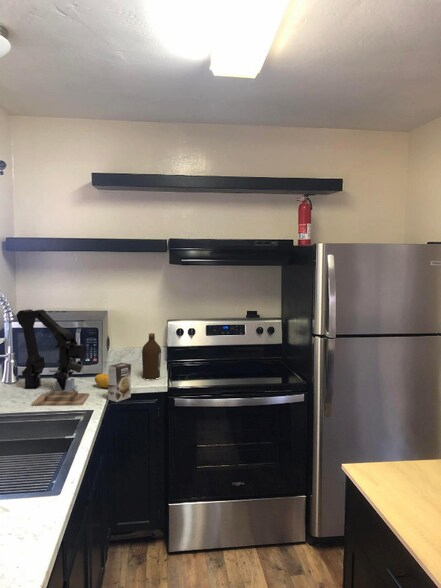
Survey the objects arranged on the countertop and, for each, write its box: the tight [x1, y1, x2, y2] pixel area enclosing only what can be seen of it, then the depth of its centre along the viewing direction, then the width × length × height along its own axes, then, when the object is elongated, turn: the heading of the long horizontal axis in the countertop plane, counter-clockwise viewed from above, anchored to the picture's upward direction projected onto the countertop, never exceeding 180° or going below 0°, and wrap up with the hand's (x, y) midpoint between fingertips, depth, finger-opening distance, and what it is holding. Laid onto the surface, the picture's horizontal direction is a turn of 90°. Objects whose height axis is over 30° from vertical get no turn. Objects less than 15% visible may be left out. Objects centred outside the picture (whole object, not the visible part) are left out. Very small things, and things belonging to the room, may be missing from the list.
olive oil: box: [141, 332, 162, 380], centre depth 242 cm, size 11×11×25 cm
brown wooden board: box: [31, 390, 90, 407], centre depth 201 cm, size 22×15×3 cm
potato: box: [94, 373, 108, 389], centre depth 223 cm, size 7×14×7 cm, turn 68°
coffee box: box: [107, 362, 132, 403], centre depth 205 cm, size 9×6×16 cm
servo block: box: [52, 377, 78, 391], centre depth 215 cm, size 11×4×7 cm, turn 96°
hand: (64, 388), depth 215 cm, fingers open, 6 cm apart
